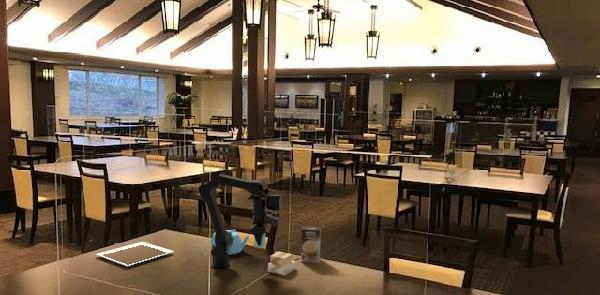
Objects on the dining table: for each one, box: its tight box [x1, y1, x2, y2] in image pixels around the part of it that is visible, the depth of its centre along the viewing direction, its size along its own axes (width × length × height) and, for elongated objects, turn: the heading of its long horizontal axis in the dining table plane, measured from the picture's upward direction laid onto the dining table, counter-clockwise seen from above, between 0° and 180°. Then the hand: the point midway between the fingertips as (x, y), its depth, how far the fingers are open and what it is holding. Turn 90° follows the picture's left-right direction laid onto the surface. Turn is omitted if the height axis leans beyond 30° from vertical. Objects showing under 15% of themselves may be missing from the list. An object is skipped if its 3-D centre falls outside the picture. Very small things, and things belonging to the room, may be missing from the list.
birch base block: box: [267, 260, 296, 276], centre depth 202 cm, size 9×9×4 cm
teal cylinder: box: [253, 233, 266, 249], centre depth 200 cm, size 5×5×6 cm
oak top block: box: [269, 251, 293, 266], centre depth 202 cm, size 7×7×4 cm
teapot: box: [210, 229, 250, 256], centre depth 228 cm, size 15×15×11 cm
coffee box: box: [300, 225, 322, 264], centre depth 215 cm, size 9×6×16 cm
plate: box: [95, 241, 175, 267], centre depth 219 cm, size 26×26×2 cm
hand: (259, 243), depth 200 cm, fingers closed on teal cylinder, 5 cm apart
